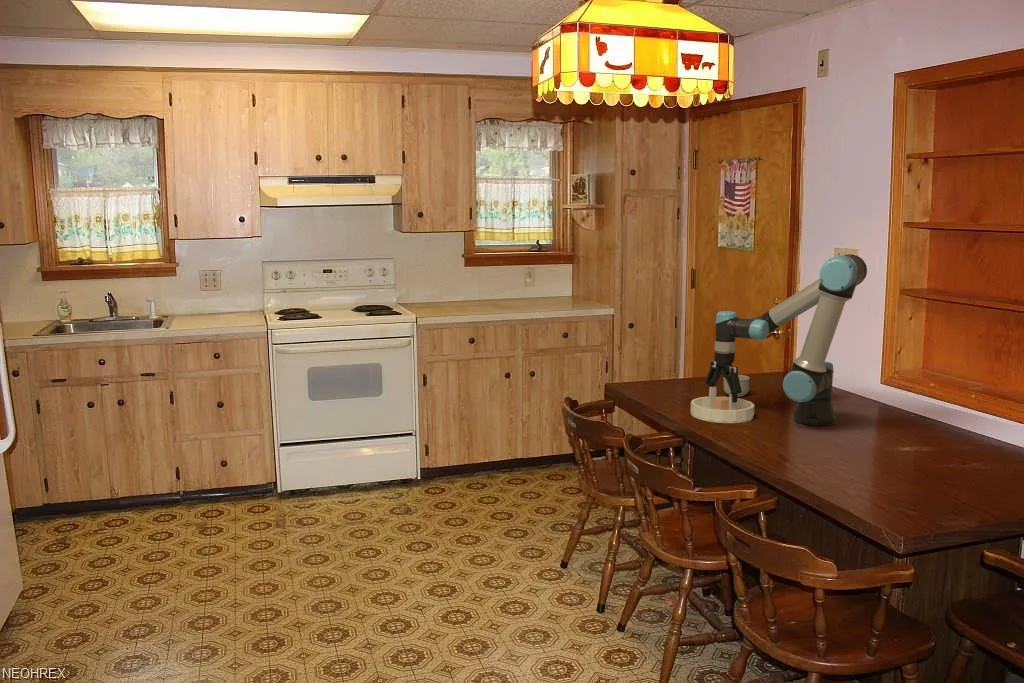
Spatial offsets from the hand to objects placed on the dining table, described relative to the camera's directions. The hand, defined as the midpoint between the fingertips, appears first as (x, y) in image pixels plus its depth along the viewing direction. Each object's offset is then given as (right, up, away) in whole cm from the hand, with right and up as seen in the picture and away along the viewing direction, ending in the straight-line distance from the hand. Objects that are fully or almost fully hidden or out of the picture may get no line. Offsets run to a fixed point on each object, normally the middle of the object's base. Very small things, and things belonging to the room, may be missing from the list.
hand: (722, 406), depth 336 cm
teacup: (+14, +2, +36) cm, 39 cm away
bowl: (0, -3, +1) cm, 3 cm away
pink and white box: (0, -3, 0) cm, 3 cm away
